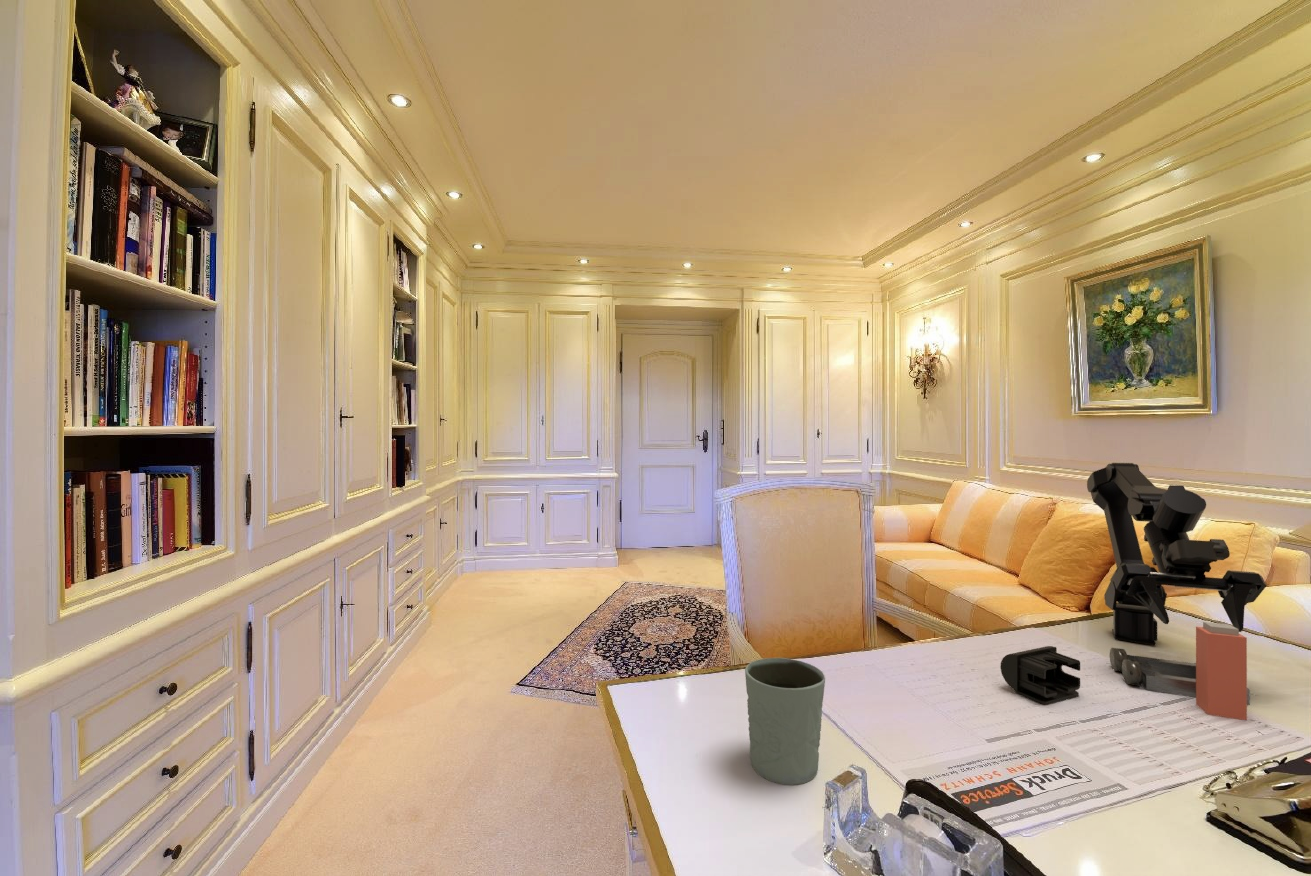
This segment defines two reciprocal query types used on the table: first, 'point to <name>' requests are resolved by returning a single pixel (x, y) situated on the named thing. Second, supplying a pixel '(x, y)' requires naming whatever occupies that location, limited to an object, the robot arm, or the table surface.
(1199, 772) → the table surface
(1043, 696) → the end cap
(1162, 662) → the chassis
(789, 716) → the grey cup
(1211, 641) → the reddish-brown tall block
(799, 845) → the table surface
